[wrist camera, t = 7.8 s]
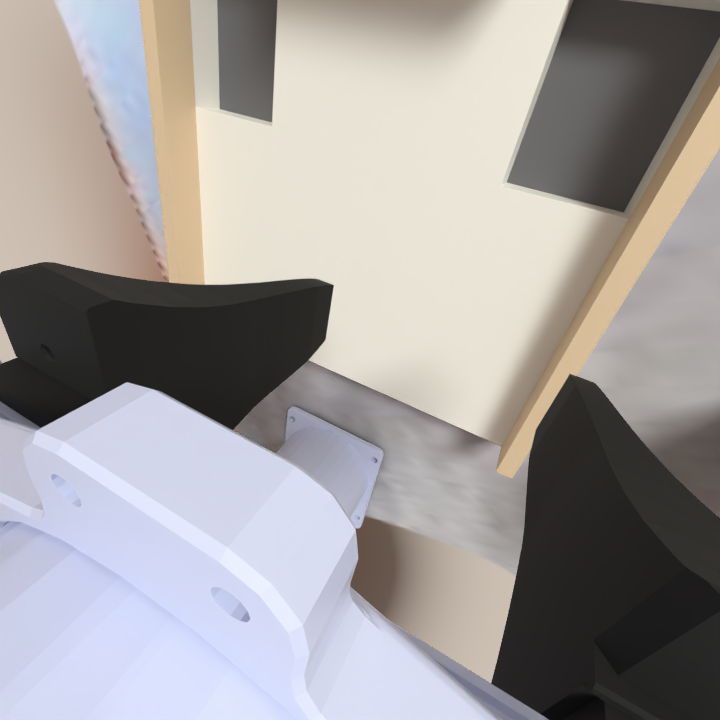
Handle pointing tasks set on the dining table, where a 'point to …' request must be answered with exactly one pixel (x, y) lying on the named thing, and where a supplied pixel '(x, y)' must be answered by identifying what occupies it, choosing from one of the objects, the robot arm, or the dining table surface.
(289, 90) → the shallow cream tray
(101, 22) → the dining table surface
